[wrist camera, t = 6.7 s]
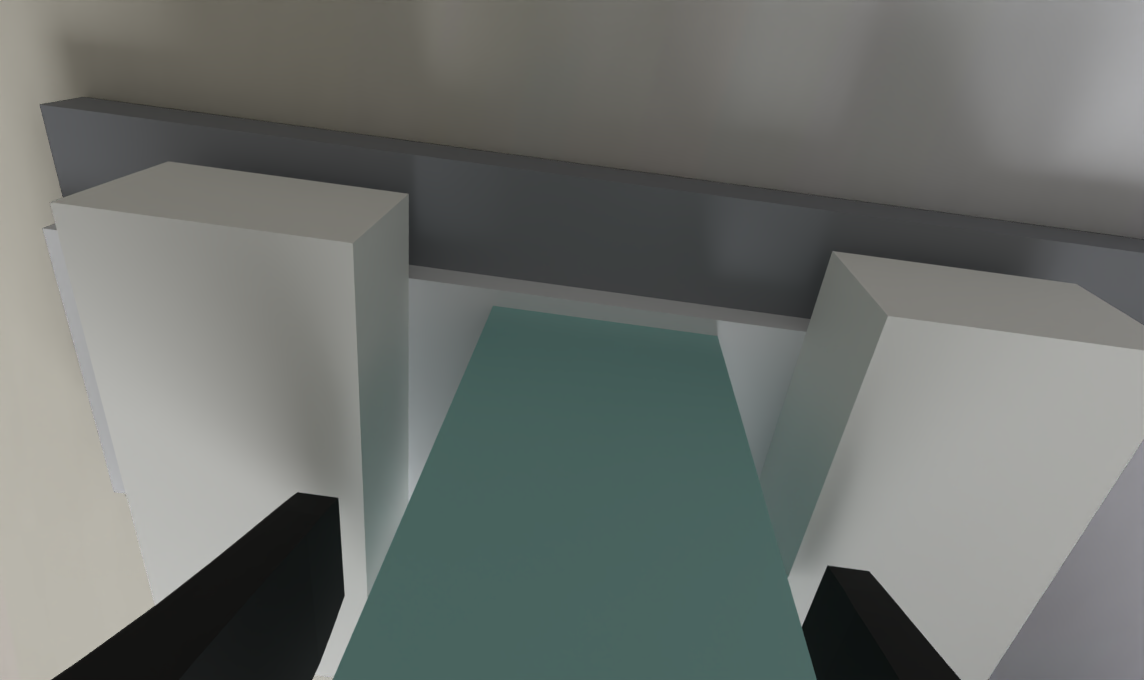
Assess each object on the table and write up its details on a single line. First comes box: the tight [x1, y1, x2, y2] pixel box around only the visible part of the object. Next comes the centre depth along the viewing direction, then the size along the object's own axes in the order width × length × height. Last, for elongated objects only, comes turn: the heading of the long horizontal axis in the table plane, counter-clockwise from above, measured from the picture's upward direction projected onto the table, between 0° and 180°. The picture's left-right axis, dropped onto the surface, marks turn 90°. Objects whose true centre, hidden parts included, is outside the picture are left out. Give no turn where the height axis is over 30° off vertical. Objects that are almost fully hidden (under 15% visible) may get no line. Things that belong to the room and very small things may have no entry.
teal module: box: [333, 306, 817, 680], centre depth 9 cm, size 4×6×8 cm, turn 174°
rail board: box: [40, 97, 1144, 680], centre depth 12 cm, size 20×10×4 cm, turn 84°
